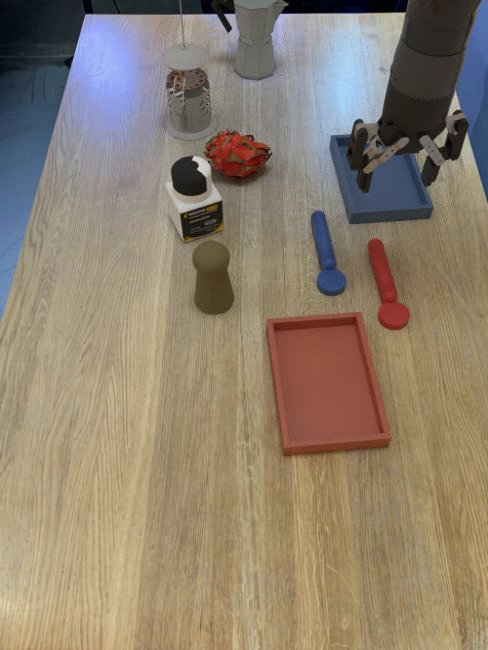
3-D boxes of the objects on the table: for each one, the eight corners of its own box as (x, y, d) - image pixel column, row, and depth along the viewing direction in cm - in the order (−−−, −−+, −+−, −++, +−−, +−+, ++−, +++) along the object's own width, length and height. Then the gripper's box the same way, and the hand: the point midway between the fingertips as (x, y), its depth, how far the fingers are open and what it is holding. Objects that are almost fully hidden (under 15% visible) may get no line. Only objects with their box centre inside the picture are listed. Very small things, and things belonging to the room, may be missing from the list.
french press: (221, 110, 116) (215, -25, 96) (209, 149, 110) (200, 14, 89) (172, 105, 117) (156, -30, 97) (157, 143, 111) (136, 8, 90)
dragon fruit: (200, 174, 108) (265, 181, 110) (200, 179, 100) (271, 187, 102) (204, 125, 106) (271, 133, 107) (205, 126, 98) (278, 135, 99)
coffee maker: (288, 59, 126) (294, -31, 111) (280, 84, 121) (285, -7, 106) (220, 51, 128) (216, -39, 113) (209, 75, 123) (203, -16, 108)
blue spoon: (303, 218, 100) (304, 208, 98) (329, 216, 100) (331, 206, 98) (319, 296, 91) (320, 287, 89) (347, 294, 91) (350, 284, 89)
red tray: (358, 321, 88) (360, 311, 86) (388, 446, 77) (391, 438, 75) (266, 328, 87) (266, 318, 85) (283, 455, 76) (284, 447, 74)
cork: (206, 277, 93) (201, 228, 84) (241, 291, 91) (240, 242, 82) (187, 305, 90) (180, 257, 81) (222, 320, 88) (219, 273, 79)
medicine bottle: (183, 243, 97) (176, 188, 87) (168, 214, 101) (159, 158, 91) (224, 230, 98) (221, 174, 89) (208, 202, 102) (203, 145, 92)
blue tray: (402, 141, 111) (405, 130, 109) (430, 218, 100) (434, 207, 98) (329, 146, 110) (330, 135, 108) (349, 224, 99) (351, 213, 97)
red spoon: (359, 246, 96) (361, 236, 94) (385, 244, 96) (388, 234, 94) (381, 330, 87) (384, 321, 85) (411, 328, 87) (414, 319, 85)
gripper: (370, 102, 65) (349, 211, 78) (497, 90, 66) (455, 199, 79) (353, 62, 69) (336, 172, 82) (473, 52, 70) (436, 162, 83)
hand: (394, 185), depth 81 cm, fingers open, 8 cm apart
